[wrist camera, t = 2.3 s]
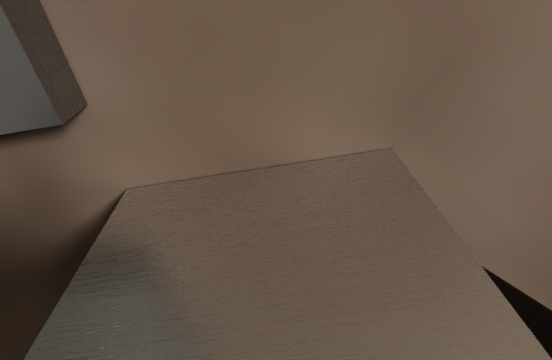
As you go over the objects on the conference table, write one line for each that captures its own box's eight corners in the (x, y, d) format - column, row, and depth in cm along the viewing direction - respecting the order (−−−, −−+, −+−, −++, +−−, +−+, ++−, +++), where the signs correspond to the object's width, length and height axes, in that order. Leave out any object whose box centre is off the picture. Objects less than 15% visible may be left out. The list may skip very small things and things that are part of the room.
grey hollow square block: (392, 148, 7) (571, 386, 3) (386, 319, 11) (473, 554, 6) (126, 188, 8) (-39, 461, 3) (197, 344, 11) (159, 586, 7)
